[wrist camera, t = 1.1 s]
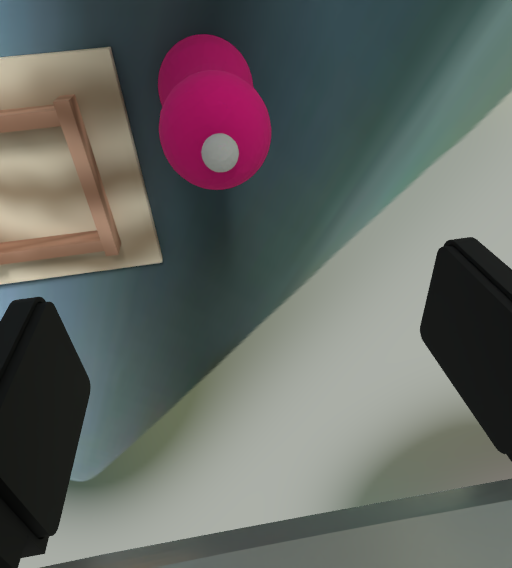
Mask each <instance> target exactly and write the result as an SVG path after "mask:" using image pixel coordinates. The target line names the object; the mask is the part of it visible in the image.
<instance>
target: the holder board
mask: <svg viewBox="0 0 512 568" xmlns="http://www.w3.org/2000/svg"><path fill="white" fill-rule="evenodd" d="M162 260H163V257H162V253H161V249H160V245H159V241H158V237H157V233H156V228H155V224H154V220H153V216H152V212H151V208H150V204H149V200H148V196H147V192H146V188H145V184H144V180H143V176H142V172H141V168H140V164H139V160H138V156H137V152H136V148H135V143H134V139H133V135H132V131H131V127H130V123H129V119H128V115H127V111H126V107H125V103H124V99H123V95H122V91H121V87H120V83H119V79H118V75H117V71H116V67H115V62H114V58H113V54H112V50H111V47H103V48H93V49H82V50H72V51H61V52H51V53H40V54H30V55H19V56H9V57H0V285H1V284H8V283H15V282H23V281H30V280H37V279H45V278H52V277H60V276H67V275H74V274H82V273H89V272H96V271H104V270H111V269H119V268H126V267H133V266H141V265H148V264H155V263H162Z"/></svg>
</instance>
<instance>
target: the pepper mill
mask: <svg viewBox="0 0 512 568" xmlns="http://www.w3.org/2000/svg"><path fill="white" fill-rule="evenodd" d="M158 92H159V97H160V102H161V104H162V110H161V112H160V121H159V137H160V141H161V145H162V148H163V151H164V154H165V156H166V158H167V160H168V162H169V163H170V165H171V166H172V167H173V169H174V170H175V171H176V172H177V173H178V174H179V175H180V176H181V177H182V178H184V179H185V180H187V181H188V182H190V183H191V184H194V185H196V186H198V187H201V188H205V189H211V190H223V189H228V188H232V187H235V186H237V185H240V184H242V183H243V182H245V181H247V180H248V179H249V178H251V177H252V176H253V175H254V174H255V173H256V172H257V171H258V169H259V168H260V167H261V166H262V164H263V162H264V160H265V158H266V156H267V154H268V151H269V146H270V142H271V124H270V118H269V114H268V110H267V108H266V106H265V104H264V101H263V100H262V98H261V97H260V96H259V94H258V93H257V91H256V90H255V89H254V88H253V81H252V76H251V73H250V69H249V67H248V65H247V62H246V60H245V59H244V57H243V56H242V54H241V53H240V52H239V51H238V50H237V49H236V47H234V46H233V45H232V44H231V43H229V42H228V41H226V40H224V39H222V38H220V37H217V36H214V35H208V34H199V35H193V36H189V37H187V38H185V39H183V40H181V41H179V42H178V43H177V44H175V45H174V46H173V47H172V48H171V49H170V50H169V52H168V53H167V54H166V56H165V58H164V60H163V62H162V64H161V67H160V70H159V76H158Z"/></svg>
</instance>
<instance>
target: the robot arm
mask: <svg viewBox="0 0 512 568" xmlns="http://www.w3.org/2000/svg"><path fill="white" fill-rule="evenodd" d="M420 333H421V337H422V339H423V341H424V343H425V344H426V346H427V347H428V349H429V350H430V352H431V353H432V355H433V356H434V357H435V359H436V360H437V362H438V363H439V365H440V366H441V368H442V369H443V371H444V372H445V374H446V375H447V377H448V378H449V380H450V381H451V383H452V384H453V386H454V387H455V388H456V390H457V391H458V393H459V394H460V396H461V397H462V399H463V400H464V402H465V403H466V405H467V406H468V407H469V409H470V410H471V412H472V413H473V415H474V416H475V418H476V419H477V421H478V422H479V424H480V425H481V426H482V428H483V429H484V431H485V432H486V434H487V435H488V437H489V438H490V440H491V441H492V443H493V444H494V446H495V447H496V448H497V449H498V451H500V452H501V453H503V454H507V456H508V457H509V459H510V460H511V461H512V270H511V269H510V268H509V267H508V266H507V265H506V264H505V263H503V262H502V261H501V260H500V259H499V258H498V257H496V256H495V255H494V254H493V253H492V252H490V251H489V250H488V249H487V248H486V247H485V246H483V245H482V244H481V243H480V242H479V241H478V240H476V239H475V238H473V237H469V238H461V239H454V240H448V241H447V242H446V243H445V244H444V246H443V247H441V248H440V249H439V250H438V252H437V256H436V261H435V265H434V269H433V274H432V278H431V282H430V287H429V291H428V296H427V300H426V305H425V308H424V313H423V317H422V321H421V326H420ZM89 395H90V381H89V378H88V375H87V373H86V371H85V369H84V367H83V365H82V363H81V361H80V359H79V356H78V354H77V352H76V350H75V348H74V346H73V344H72V342H71V339H70V337H69V335H68V333H67V331H66V329H65V327H64V325H63V323H62V320H61V318H60V316H59V314H58V312H57V310H56V308H55V306H54V304H53V303H52V302H46V301H45V300H44V299H43V298H42V297H34V298H27V299H19V300H14V301H12V302H11V303H10V305H9V307H8V309H7V310H6V312H5V314H4V316H3V318H2V319H1V321H0V568H18V565H19V562H20V558H24V557H29V556H35V555H40V554H45V550H46V546H47V542H48V538H49V536H53V535H54V534H55V533H56V531H57V529H58V526H59V522H60V518H61V514H62V510H63V505H64V501H65V497H66V492H67V488H68V484H69V480H70V476H71V471H72V467H73V463H74V459H75V455H76V450H77V446H78V442H79V438H80V433H81V429H82V425H83V421H84V416H85V412H86V408H87V404H88V399H89ZM41 568H512V479H508V480H502V481H497V482H491V483H486V484H480V485H474V486H469V487H463V488H458V489H452V490H447V491H441V492H436V493H430V494H424V495H419V496H413V497H408V498H402V499H397V500H391V501H386V502H381V503H375V504H369V505H364V506H359V507H353V508H348V509H342V510H338V511H332V512H326V513H321V514H315V515H310V516H305V517H300V518H294V519H288V520H283V521H278V522H273V523H267V524H261V525H256V526H251V527H246V528H240V529H235V530H230V531H224V532H219V533H214V534H209V535H204V536H198V537H193V538H188V539H182V540H177V541H172V542H167V543H161V544H156V545H151V546H146V547H140V548H135V549H130V550H125V551H120V552H114V553H109V554H104V555H99V556H94V557H89V558H85V559H80V560H75V561H70V562H66V563H60V564H56V565H51V566H46V567H41Z"/></svg>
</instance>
